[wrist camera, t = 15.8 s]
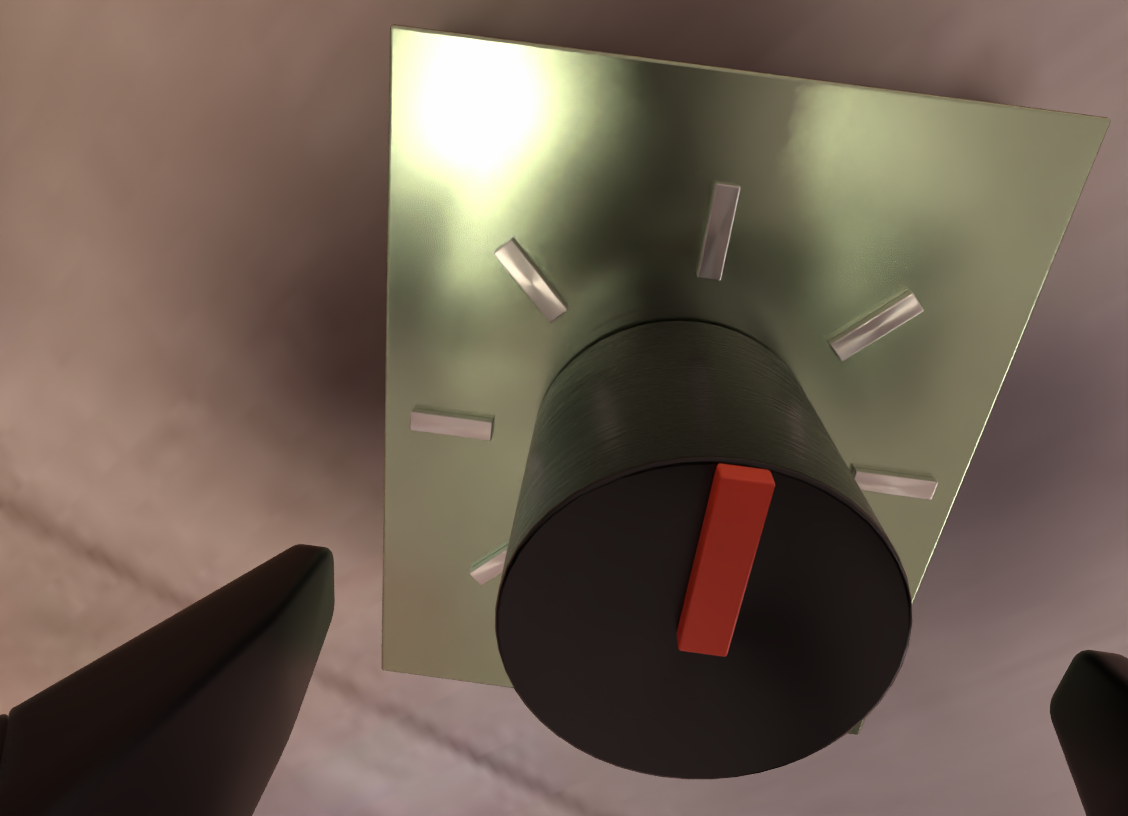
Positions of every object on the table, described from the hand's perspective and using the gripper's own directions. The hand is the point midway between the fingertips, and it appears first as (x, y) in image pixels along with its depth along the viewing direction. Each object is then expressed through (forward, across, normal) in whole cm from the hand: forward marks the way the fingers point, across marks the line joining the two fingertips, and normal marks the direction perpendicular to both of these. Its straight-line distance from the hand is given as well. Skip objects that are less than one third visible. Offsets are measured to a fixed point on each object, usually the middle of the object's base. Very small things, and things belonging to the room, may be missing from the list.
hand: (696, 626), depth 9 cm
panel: (+7, 0, 0) cm, 7 cm away
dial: (+4, 0, 0) cm, 4 cm away
